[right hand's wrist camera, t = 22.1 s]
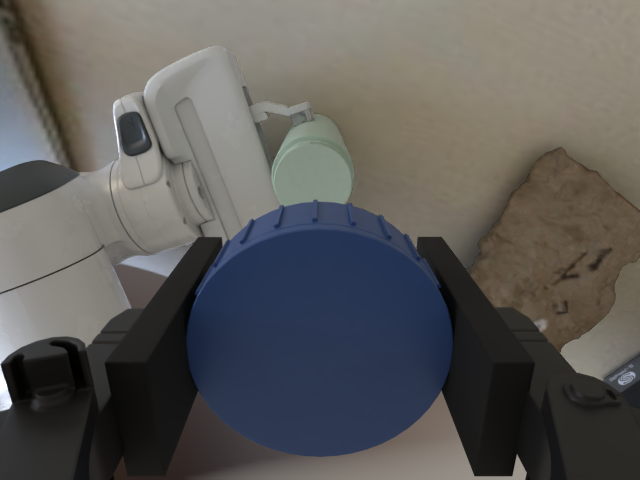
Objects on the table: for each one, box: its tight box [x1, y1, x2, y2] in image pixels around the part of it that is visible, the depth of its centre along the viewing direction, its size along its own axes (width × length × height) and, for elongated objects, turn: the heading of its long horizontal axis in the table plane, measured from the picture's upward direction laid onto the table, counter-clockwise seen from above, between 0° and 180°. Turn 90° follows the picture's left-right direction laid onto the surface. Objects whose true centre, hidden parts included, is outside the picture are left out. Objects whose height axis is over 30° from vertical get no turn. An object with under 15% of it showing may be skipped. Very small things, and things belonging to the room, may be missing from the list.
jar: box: [271, 114, 355, 207], centre depth 35 cm, size 5×5×18 cm
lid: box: [186, 200, 454, 457], centre depth 11 cm, size 6×6×2 cm
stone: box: [466, 147, 640, 353], centre depth 46 cm, size 21×15×6 cm
